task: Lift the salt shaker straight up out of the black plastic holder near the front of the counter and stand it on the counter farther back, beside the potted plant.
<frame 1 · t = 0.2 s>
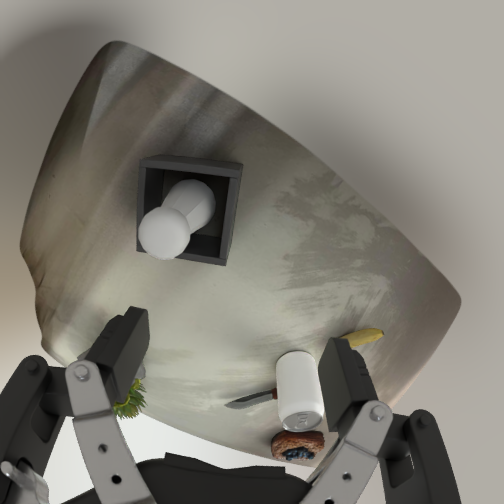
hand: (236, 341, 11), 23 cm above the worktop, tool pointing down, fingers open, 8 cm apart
can: (295, 362, 43), on the worktop
holder: (195, 199, 33), on the worktop
knife: (267, 389, 46), on the worktop
salt shaker: (195, 199, 33), resting in holder
banana: (348, 334, 41), on the worktop
potted plant: (128, 357, 44), on the worktop
pastry: (296, 439, 54), on the worktop
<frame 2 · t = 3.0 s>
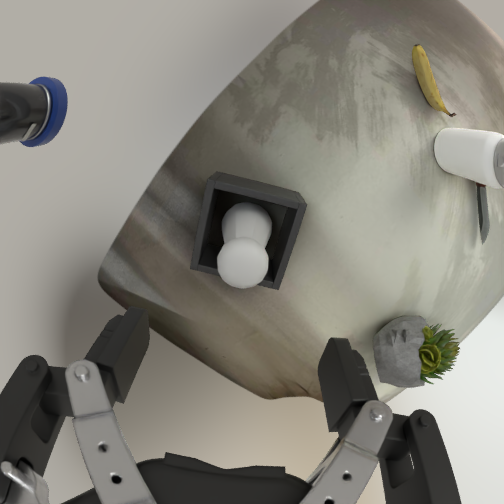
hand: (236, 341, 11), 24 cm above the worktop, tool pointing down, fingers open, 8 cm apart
can: (448, 149, 29), on the worktop
holder: (247, 220, 34), on the worktop
knife: (475, 189, 31), on the worktop
salt shaker: (247, 220, 34), resting in holder
banana: (421, 83, 26), on the worktop
potted plant: (403, 328, 41), on the worktop
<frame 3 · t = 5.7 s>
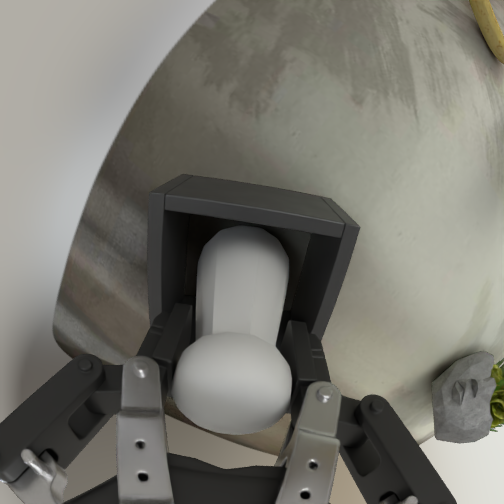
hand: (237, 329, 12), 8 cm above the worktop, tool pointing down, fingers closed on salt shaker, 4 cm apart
holder: (245, 254, 20), on the worktop
salt shaker: (245, 253, 20), resting in holder, touching gripper
banana: (479, 29, 11), on the worktop
potted plant: (462, 364, 26), on the worktop
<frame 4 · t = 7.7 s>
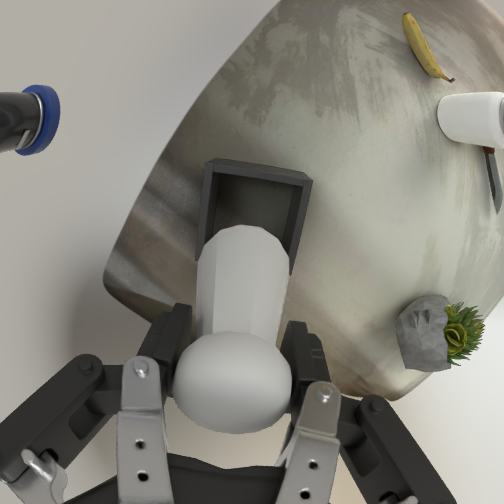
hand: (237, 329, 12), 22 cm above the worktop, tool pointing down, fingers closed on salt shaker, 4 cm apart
can: (452, 118, 26), on the worktop
holder: (252, 206, 32), on the worktop
knife: (484, 157, 27), on the worktop
salt shaker: (245, 253, 20), point 13 cm above the worktop, touching gripper
banana: (416, 52, 23), on the worktop
potted plant: (424, 309, 38), on the worktop
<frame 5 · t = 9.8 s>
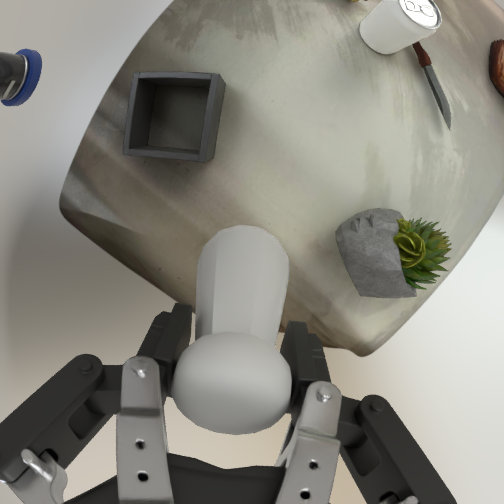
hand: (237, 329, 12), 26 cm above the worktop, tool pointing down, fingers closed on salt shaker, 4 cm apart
can: (378, 35, 26), on the worktop
holder: (181, 117, 32), on the worktop
knife: (424, 73, 27), on the worktop
salt shaker: (245, 253, 20), point 18 cm above the worktop, touching gripper
potted plant: (379, 233, 38), on the worktop
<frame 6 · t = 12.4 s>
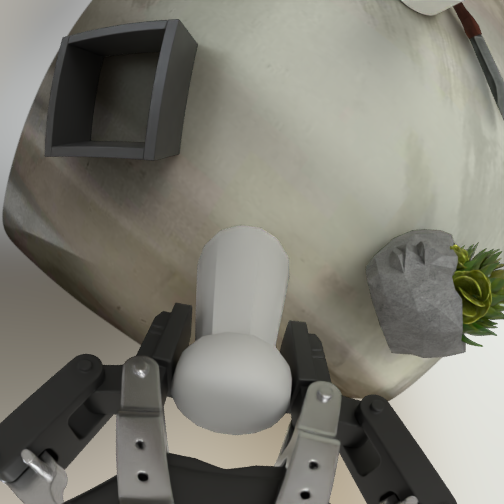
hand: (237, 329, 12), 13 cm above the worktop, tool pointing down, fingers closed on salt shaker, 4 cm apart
holder: (133, 96, 20), on the worktop
knife: (471, 46, 15), on the worktop
salt shaker: (245, 253, 20), point 5 cm above the worktop, touching gripper
potted plant: (418, 261, 25), on the worktop
when the fingers open (8 cm above the worktop, at t = 14.1 s): salt shaker stays where it is, on the worktop.
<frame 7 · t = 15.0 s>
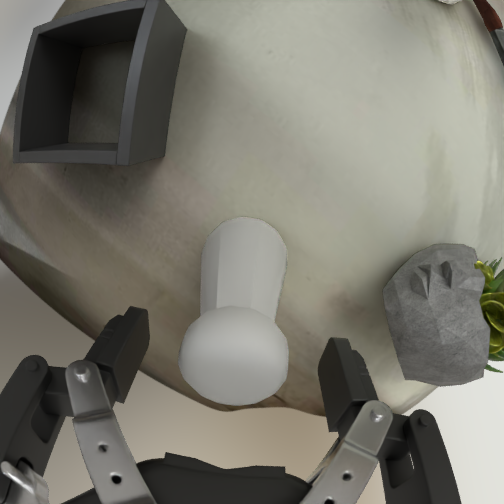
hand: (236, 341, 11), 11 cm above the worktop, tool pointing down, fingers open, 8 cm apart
holder: (113, 90, 16), on the worktop
knife: (491, 40, 12), on the worktop
salt shaker: (246, 244, 21), on the worktop
potted plant: (435, 276, 22), on the worktop
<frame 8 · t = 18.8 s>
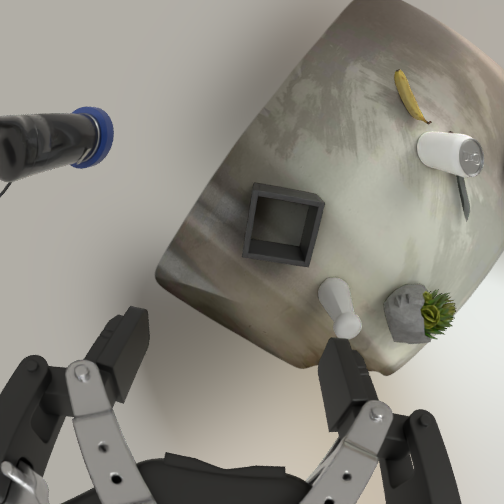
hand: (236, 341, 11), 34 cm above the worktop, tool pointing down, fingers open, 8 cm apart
can: (429, 149, 39), on the worktop
holder: (279, 218, 45), on the worktop
knife: (455, 177, 40), on the worktop
salt shaker: (330, 285, 50), on the worktop
banana: (403, 98, 35), on the worktop
potted plant: (408, 296, 50), on the worktop
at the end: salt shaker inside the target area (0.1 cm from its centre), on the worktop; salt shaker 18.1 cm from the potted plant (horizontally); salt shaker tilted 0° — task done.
